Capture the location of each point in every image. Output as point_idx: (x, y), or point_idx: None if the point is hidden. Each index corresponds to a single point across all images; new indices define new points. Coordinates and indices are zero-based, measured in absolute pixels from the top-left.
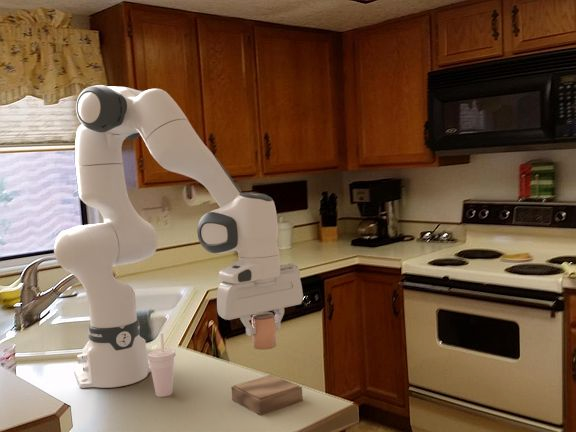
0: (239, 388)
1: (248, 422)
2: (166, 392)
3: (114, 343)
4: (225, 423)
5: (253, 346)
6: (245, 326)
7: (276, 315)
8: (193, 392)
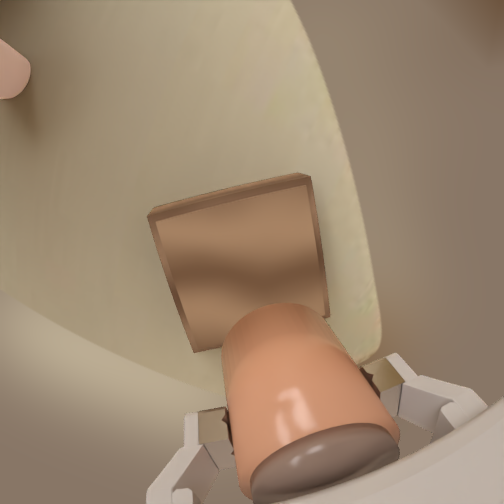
0: (164, 251)
1: (159, 352)
2: (8, 97)
3: None
4: (111, 334)
5: (221, 357)
6: (181, 454)
7: (429, 404)
8: (73, 94)
